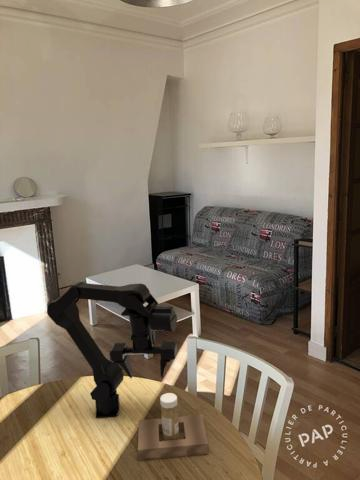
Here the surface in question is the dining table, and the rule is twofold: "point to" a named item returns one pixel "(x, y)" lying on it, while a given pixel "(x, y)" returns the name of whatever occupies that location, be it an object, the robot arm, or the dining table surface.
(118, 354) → the robot arm
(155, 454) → the socket block
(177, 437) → the sprinkles bottle
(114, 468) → the dining table surface
